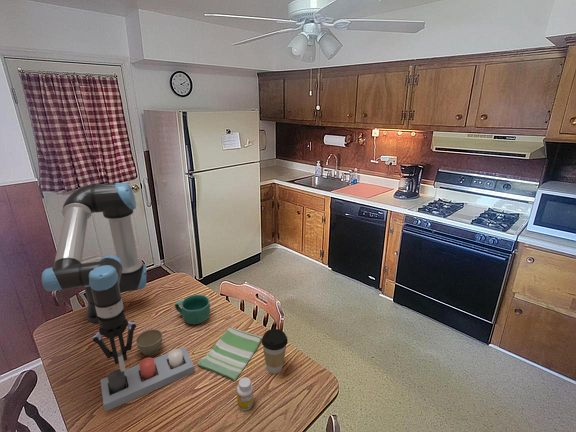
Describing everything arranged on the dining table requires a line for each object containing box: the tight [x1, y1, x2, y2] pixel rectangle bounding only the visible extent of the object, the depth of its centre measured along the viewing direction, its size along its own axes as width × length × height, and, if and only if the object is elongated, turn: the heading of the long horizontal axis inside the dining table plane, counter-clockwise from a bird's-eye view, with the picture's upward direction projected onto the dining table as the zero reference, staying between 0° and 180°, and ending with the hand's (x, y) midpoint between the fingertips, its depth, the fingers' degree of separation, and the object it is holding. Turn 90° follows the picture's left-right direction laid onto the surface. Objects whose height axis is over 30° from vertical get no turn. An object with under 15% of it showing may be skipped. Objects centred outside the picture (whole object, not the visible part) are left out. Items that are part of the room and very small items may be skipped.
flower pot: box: [135, 328, 163, 357], centre depth 127 cm, size 10×10×7 cm
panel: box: [100, 346, 196, 412], centre depth 115 cm, size 12×30×3 cm, turn 124°
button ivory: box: [168, 348, 185, 370], centre depth 120 cm, size 5×5×6 cm
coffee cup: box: [261, 328, 288, 375], centre depth 119 cm, size 10×10×15 cm
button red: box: [138, 357, 157, 381], centre depth 114 cm, size 5×5×6 cm
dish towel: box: [196, 326, 263, 382], centre depth 128 cm, size 18×23×3 cm
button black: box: [107, 368, 128, 395], centre depth 109 cm, size 5×5×6 cm
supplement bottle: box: [236, 377, 254, 411], centre depth 105 cm, size 5×5×10 cm
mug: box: [174, 294, 211, 325], centre depth 147 cm, size 17×13×10 cm
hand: (122, 368), depth 109 cm, fingers closed
